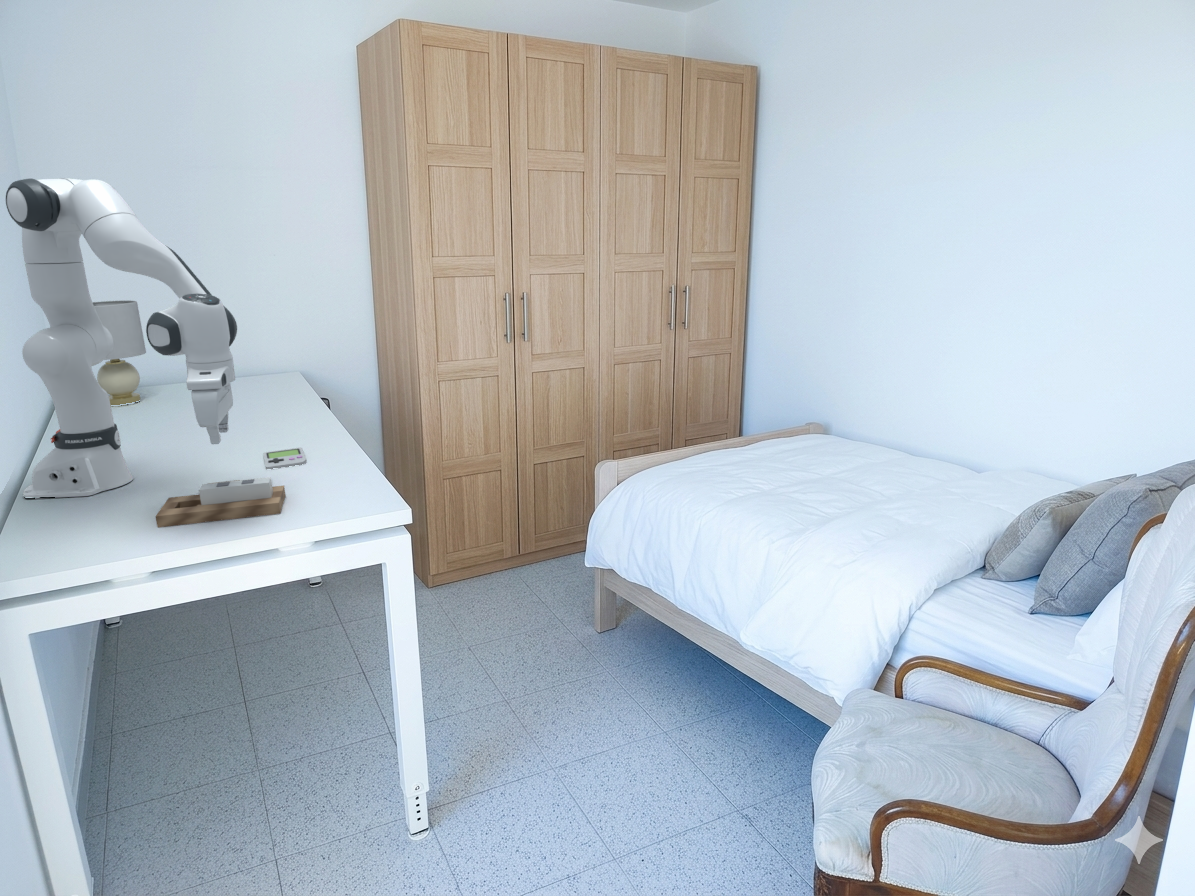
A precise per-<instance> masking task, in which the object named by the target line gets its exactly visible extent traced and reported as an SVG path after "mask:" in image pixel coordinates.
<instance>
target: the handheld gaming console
mask: <svg viewBox="0 0 1195 896" xmlns="http://www.w3.org/2000/svg"><path fill="white" fill-rule="evenodd" d="M304 451H305V450H304V449H303V447H293V448H286V449H278V450H273V451H272V450H271V451H264V452H263V453H262V455H263V461H264V465H265V469H266V470H267V469H271V470H274V469H273V468H278V469H282V468H281V467H285V468H290V467H289V466H292V467H296V466H295V465H299V466H303V465H305V464H306V463H307V462H306V461H307V457H306V454H305V452H304ZM302 464H303V465H302Z"/></svg>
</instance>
